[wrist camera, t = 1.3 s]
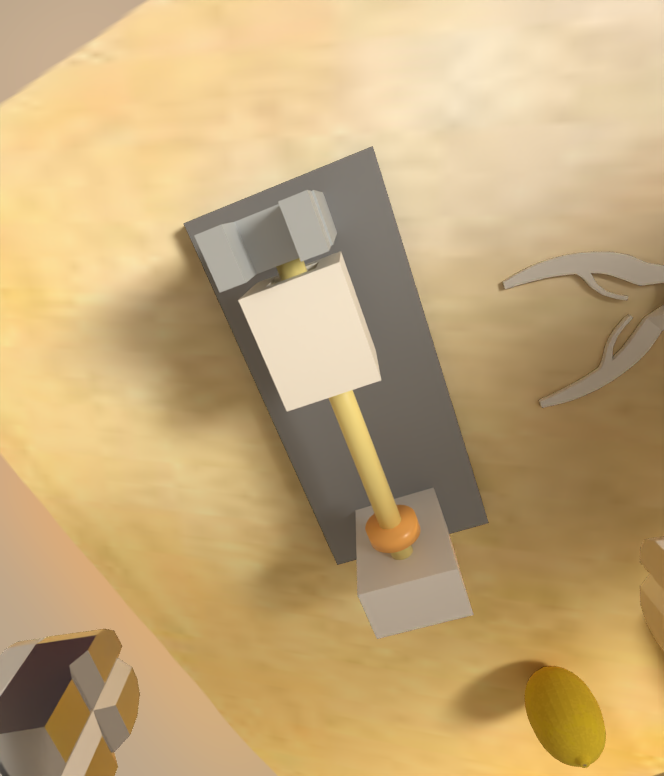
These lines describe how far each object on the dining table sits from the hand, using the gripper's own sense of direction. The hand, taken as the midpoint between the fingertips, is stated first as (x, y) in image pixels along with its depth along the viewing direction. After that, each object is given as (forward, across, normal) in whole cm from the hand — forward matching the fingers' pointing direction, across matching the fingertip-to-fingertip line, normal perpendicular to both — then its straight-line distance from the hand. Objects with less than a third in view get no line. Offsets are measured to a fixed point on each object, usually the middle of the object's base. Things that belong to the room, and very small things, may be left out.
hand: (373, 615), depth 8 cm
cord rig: (+26, 0, +5) cm, 27 cm away
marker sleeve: (+22, +1, 0) cm, 22 cm away
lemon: (+27, -11, +35) cm, 45 cm away
